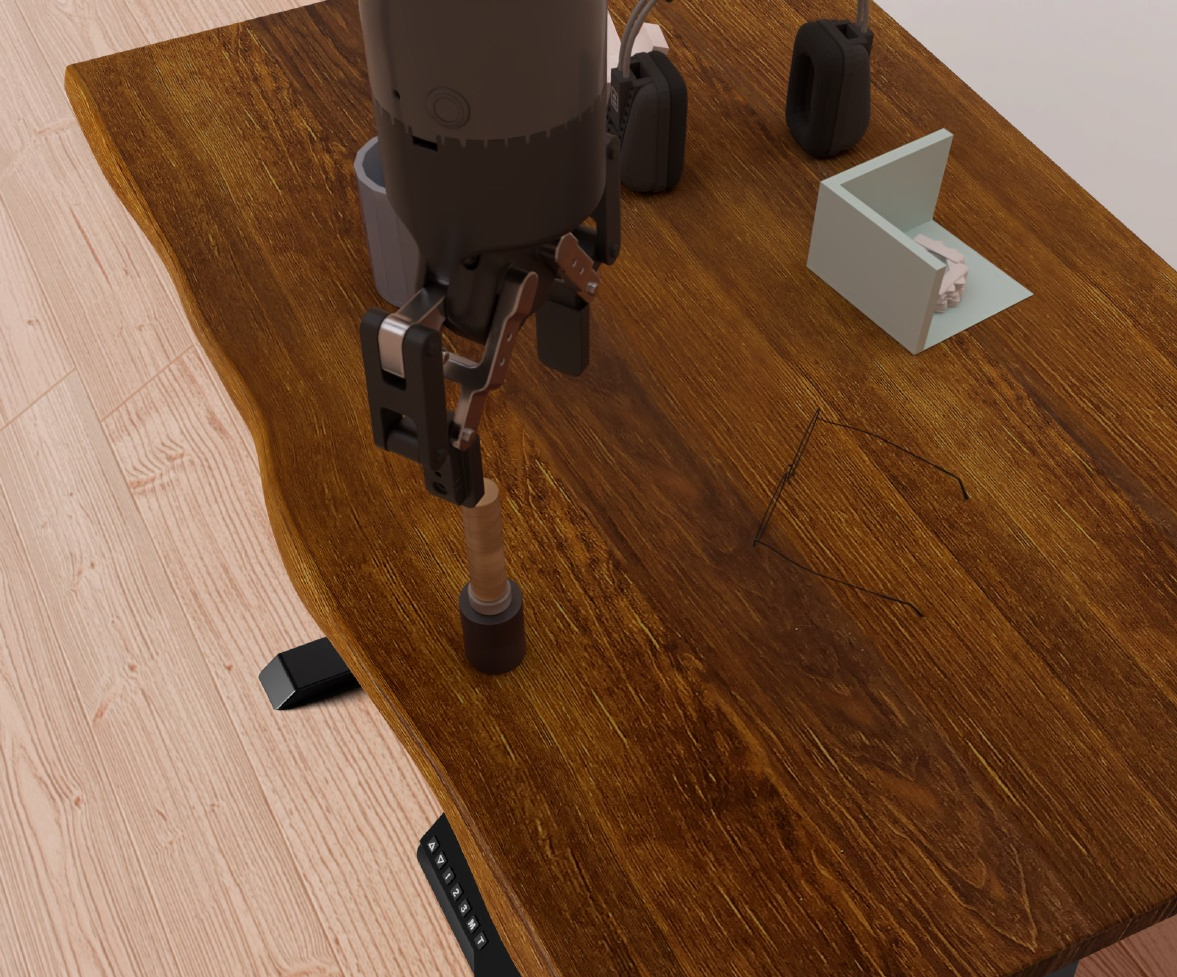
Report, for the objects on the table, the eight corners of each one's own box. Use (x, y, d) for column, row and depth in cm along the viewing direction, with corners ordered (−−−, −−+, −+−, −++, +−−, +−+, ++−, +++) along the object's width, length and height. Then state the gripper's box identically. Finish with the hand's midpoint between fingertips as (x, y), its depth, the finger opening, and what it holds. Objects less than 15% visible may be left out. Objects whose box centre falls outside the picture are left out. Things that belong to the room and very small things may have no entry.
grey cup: (364, 309, 94) (344, 194, 86) (384, 239, 99) (365, 123, 91) (477, 314, 93) (467, 199, 86) (490, 243, 99) (482, 128, 91)
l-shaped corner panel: (914, 355, 91) (936, 270, 85) (806, 266, 97) (820, 181, 91) (1033, 294, 95) (1063, 209, 89) (923, 212, 101) (943, 128, 95)
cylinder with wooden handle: (461, 673, 74) (438, 516, 63) (469, 623, 76) (448, 463, 65) (523, 676, 74) (510, 520, 63) (529, 626, 76) (518, 466, 65)
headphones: (838, 112, 109) (879, -133, 94) (871, 153, 106) (920, -95, 90) (595, 161, 105) (596, -87, 89) (621, 205, 101) (626, -46, 86)
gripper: (503, -60, 45) (522, 302, 58) (250, 144, 37) (337, 509, 50) (694, -9, 42) (670, 357, 55) (467, 220, 35) (500, 582, 48)
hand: (512, 429), depth 53 cm, fingers open, 8 cm apart
